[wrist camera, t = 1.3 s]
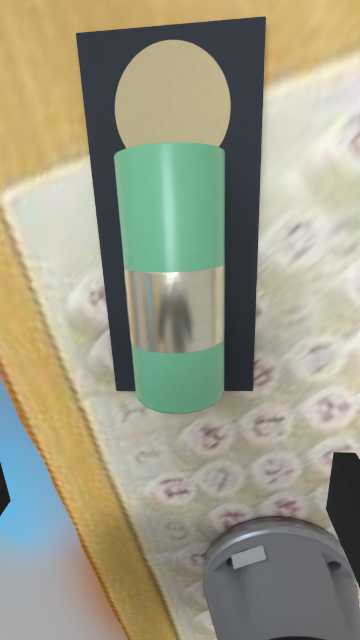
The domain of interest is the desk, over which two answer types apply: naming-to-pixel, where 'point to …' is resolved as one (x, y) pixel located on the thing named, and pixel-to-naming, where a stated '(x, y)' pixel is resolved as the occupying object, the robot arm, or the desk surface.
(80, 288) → the desk surface
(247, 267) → the mat
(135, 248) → the can
